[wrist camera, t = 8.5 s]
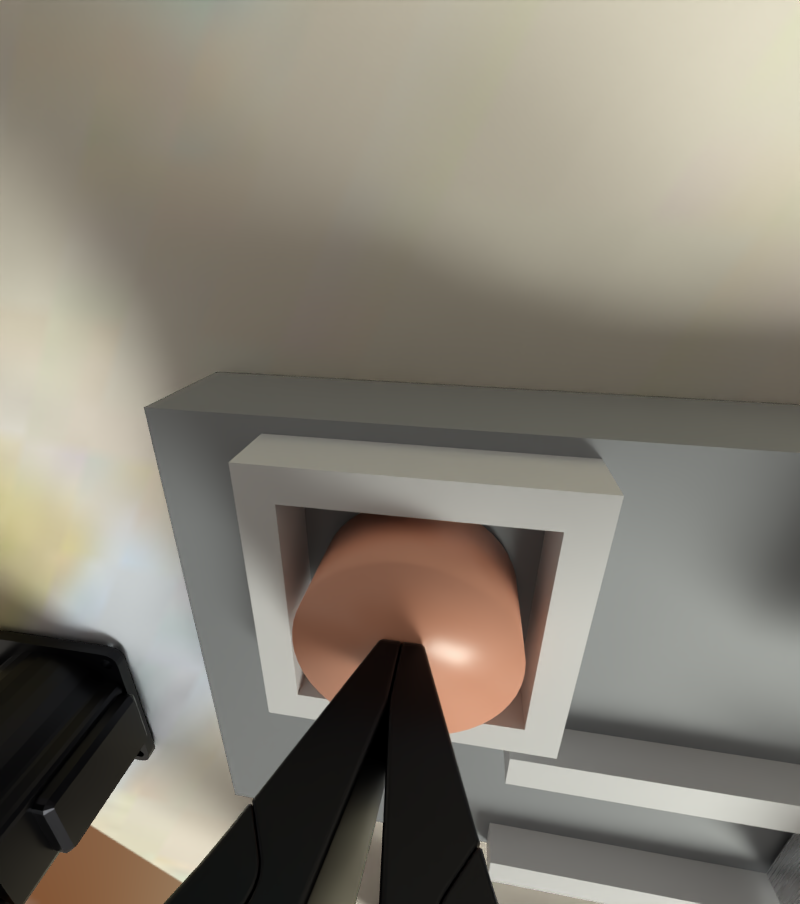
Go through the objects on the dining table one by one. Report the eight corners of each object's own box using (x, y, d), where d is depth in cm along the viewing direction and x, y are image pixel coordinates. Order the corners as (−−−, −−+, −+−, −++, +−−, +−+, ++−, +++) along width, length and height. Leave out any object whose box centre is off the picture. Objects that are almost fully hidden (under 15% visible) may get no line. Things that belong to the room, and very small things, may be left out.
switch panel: (271, 713, 18) (210, 850, 14) (216, 372, 12) (85, 436, 8) (957, 824, 15) (1140, 1044, 11) (1327, 435, 9) (2037, 592, 5)
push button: (328, 642, 11) (301, 716, 10) (318, 492, 10) (281, 549, 8) (505, 667, 11) (510, 750, 9) (529, 511, 9) (542, 577, 7)
